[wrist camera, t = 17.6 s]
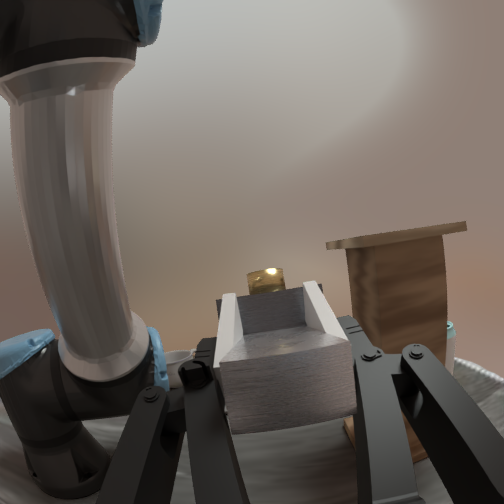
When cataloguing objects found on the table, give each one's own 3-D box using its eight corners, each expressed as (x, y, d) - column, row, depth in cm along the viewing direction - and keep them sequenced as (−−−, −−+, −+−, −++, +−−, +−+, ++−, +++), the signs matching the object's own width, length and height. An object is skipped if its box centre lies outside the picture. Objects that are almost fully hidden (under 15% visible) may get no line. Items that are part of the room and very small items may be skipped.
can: (438, 369, 46) (441, 317, 46) (458, 380, 39) (463, 323, 39) (413, 380, 45) (415, 326, 45) (432, 393, 38) (436, 334, 38)
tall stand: (451, 448, 23) (465, 221, 23) (365, 482, 23) (362, 235, 24) (409, 404, 38) (404, 231, 38) (340, 424, 38) (325, 242, 39)
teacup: (166, 396, 57) (158, 366, 57) (152, 382, 66) (145, 355, 66) (216, 379, 66) (210, 351, 66) (197, 369, 74) (192, 343, 74)
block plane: (238, 355, 25) (227, 281, 27) (312, 343, 25) (301, 270, 26) (186, 436, 7) (157, 226, 9) (398, 400, 7) (365, 195, 9)
